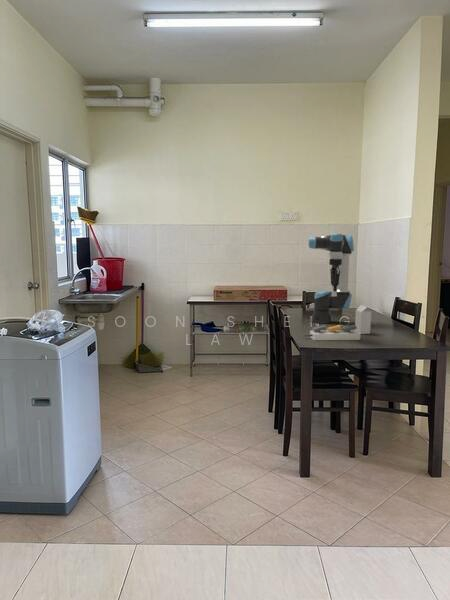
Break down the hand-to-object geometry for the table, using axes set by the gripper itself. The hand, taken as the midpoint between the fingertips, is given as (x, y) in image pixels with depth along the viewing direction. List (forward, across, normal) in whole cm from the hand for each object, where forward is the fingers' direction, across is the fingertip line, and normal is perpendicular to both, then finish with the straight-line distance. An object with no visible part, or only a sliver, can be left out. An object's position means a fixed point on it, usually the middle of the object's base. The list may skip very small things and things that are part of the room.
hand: (334, 296), depth 273 cm
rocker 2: (+20, +3, +10) cm, 22 cm away
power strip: (+26, +4, -3) cm, 27 cm away
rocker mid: (+20, +3, 0) cm, 20 cm away
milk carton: (+26, -10, +24) cm, 37 cm away
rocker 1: (+20, +3, -10) cm, 22 cm away
